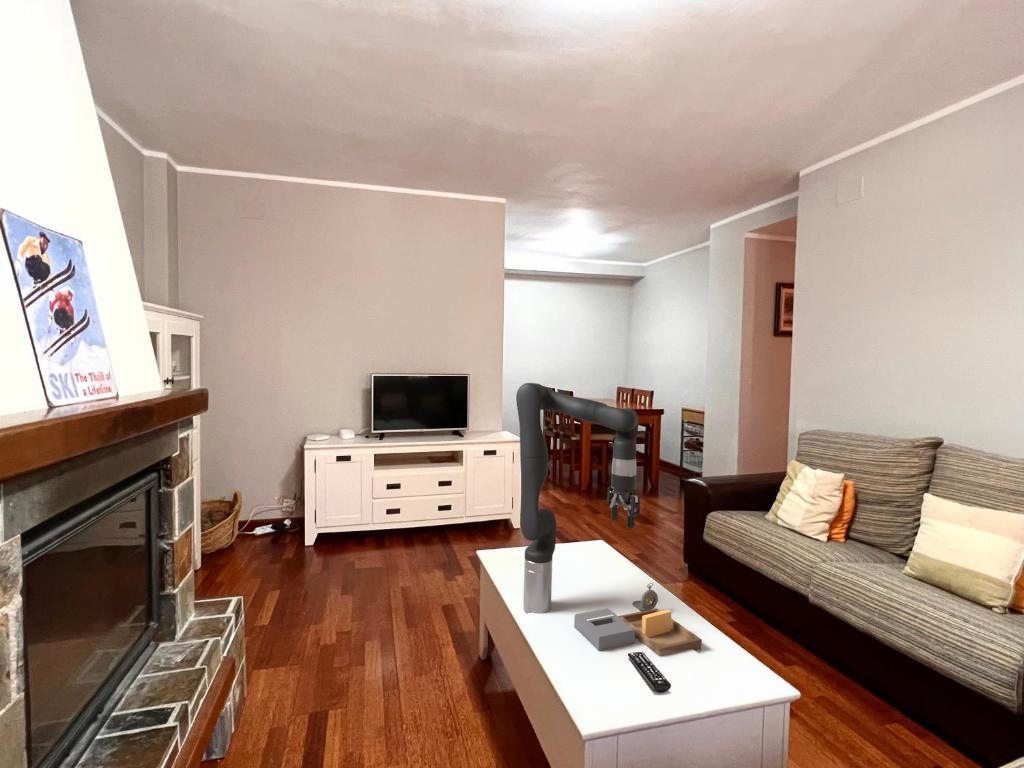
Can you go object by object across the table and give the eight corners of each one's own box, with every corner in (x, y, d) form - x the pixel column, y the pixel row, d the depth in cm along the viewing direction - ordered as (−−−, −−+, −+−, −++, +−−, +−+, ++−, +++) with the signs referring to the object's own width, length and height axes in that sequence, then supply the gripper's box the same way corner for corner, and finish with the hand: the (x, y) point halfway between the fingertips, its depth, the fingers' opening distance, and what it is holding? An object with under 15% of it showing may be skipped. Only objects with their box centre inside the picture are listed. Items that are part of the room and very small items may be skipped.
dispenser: (574, 630, 156) (574, 613, 155) (607, 623, 160) (607, 606, 160) (598, 654, 143) (599, 635, 143) (634, 646, 147) (634, 628, 147)
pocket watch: (635, 601, 176) (636, 573, 176) (659, 608, 172) (660, 578, 171) (627, 611, 169) (628, 581, 169) (653, 618, 165) (654, 587, 164)
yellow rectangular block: (642, 615, 151) (667, 609, 156) (641, 635, 152) (666, 628, 156) (645, 618, 150) (671, 611, 154) (645, 638, 150) (670, 631, 155)
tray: (617, 625, 159) (618, 616, 159) (656, 617, 165) (657, 608, 165) (659, 659, 141) (659, 649, 141) (701, 649, 147) (701, 639, 146)
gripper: (601, 468, 163) (599, 518, 164) (627, 477, 150) (625, 532, 150) (620, 467, 166) (619, 516, 167) (648, 476, 153) (646, 529, 153)
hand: (622, 524), depth 158 cm, fingers open, 8 cm apart
